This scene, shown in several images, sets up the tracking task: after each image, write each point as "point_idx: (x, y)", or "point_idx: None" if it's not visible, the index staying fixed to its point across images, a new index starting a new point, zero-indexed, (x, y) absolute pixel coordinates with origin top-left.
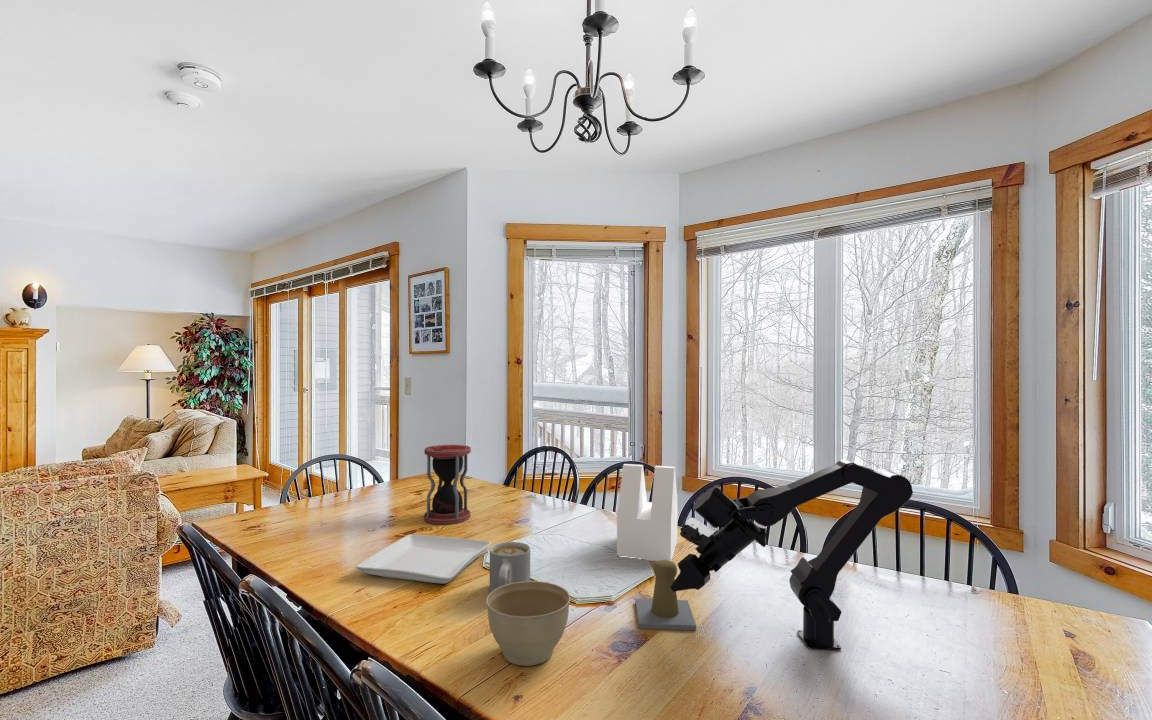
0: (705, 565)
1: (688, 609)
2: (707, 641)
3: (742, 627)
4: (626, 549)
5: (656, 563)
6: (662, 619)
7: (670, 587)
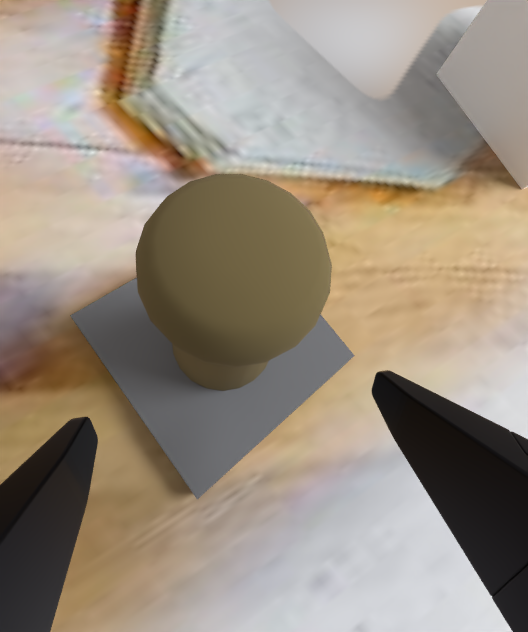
0: (509, 557)
1: (295, 398)
2: (142, 586)
3: (343, 628)
4: (471, 67)
5: (185, 190)
6: (158, 365)
7: (70, 422)
